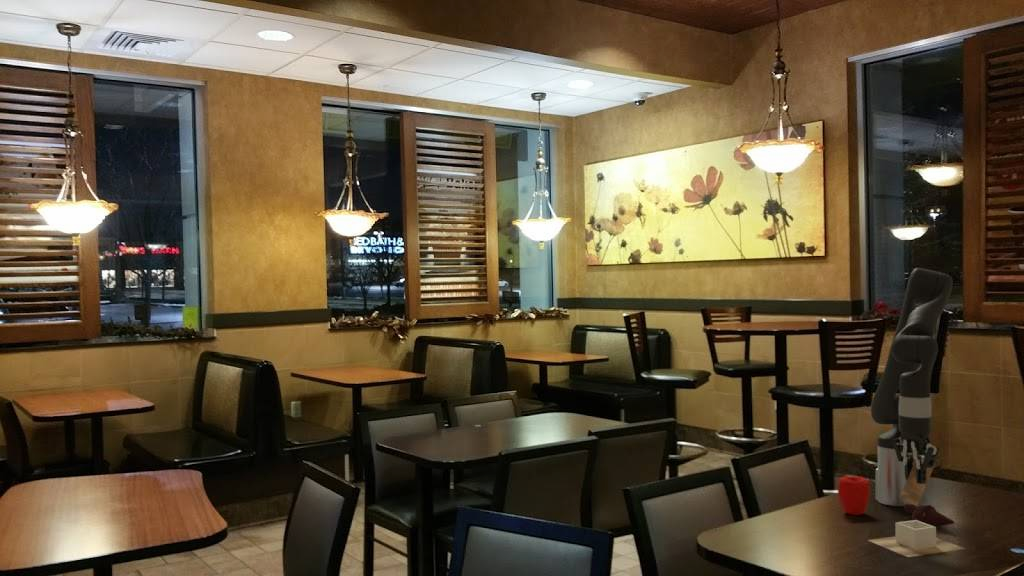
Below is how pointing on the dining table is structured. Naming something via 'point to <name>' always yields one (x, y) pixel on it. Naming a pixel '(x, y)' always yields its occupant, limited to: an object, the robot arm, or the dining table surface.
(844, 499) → the apple
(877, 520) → the dining table surface
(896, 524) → the white square box
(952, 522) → the icecream
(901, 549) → the wooden board
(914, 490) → the square wooden post
